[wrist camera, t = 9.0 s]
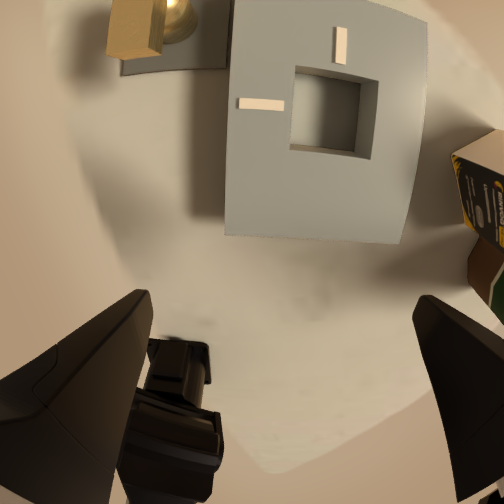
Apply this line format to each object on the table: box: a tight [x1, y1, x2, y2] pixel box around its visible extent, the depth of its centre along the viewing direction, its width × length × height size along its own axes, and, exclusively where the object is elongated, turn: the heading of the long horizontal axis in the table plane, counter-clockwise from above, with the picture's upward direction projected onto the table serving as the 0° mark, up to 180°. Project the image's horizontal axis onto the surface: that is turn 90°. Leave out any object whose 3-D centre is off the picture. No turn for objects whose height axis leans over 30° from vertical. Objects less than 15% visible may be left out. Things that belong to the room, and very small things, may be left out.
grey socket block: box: [224, 0, 428, 245], centre depth 15 cm, size 16×12×3 cm
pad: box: [123, 0, 231, 76], centre depth 13 cm, size 7×7×1 cm
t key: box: [106, 0, 199, 60], centre depth 10 cm, size 3×7×7 cm, turn 177°
